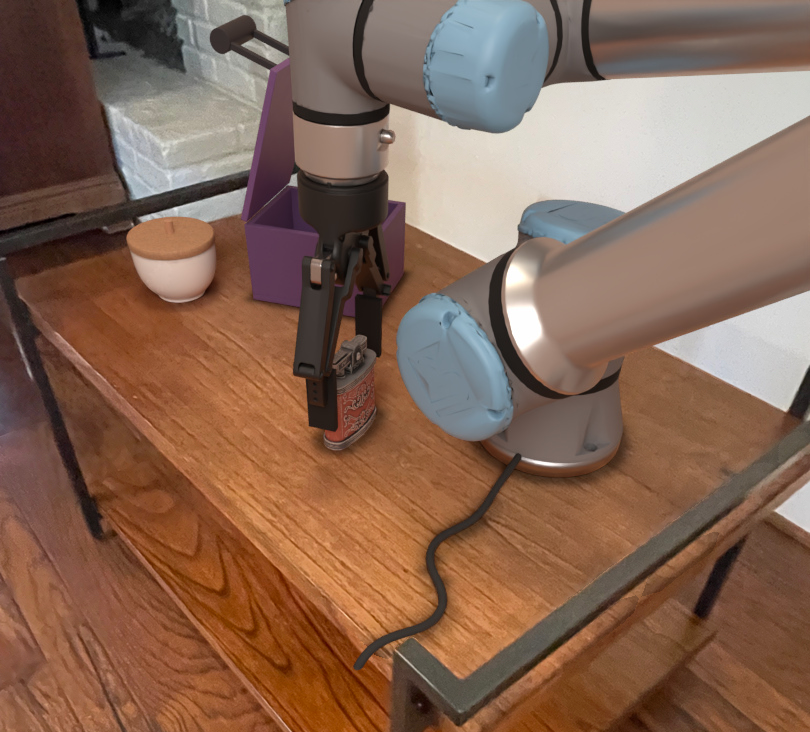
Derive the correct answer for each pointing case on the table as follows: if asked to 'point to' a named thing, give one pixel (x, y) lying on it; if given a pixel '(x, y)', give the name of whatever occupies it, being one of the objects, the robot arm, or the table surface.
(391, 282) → the purple box base
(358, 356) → the lighter
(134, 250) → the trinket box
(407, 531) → the table surface
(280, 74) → the lid
